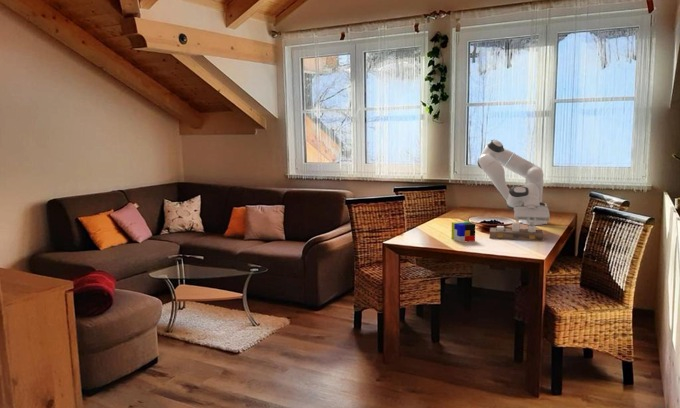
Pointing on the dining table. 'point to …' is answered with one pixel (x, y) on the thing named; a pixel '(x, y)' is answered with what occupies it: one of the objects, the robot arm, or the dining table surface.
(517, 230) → the plunger middle
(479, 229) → the dining table surface
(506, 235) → the console
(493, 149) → the robot arm
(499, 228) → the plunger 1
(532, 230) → the plunger
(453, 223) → the puzzle toy
